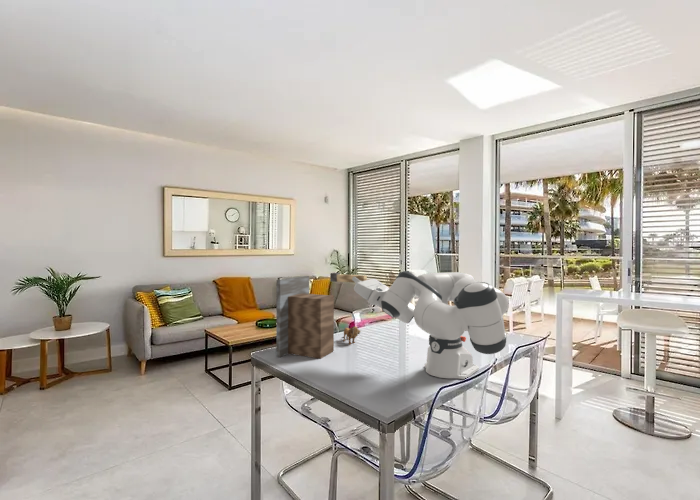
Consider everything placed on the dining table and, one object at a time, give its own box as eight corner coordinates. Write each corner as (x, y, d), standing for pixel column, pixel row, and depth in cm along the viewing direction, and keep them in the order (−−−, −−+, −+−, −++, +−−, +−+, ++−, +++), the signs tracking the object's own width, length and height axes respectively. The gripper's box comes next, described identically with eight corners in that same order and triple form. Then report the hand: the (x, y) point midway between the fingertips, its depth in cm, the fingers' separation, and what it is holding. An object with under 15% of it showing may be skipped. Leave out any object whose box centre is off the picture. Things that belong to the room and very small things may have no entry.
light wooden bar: (367, 282, 160) (367, 273, 160) (363, 283, 157) (363, 274, 157) (334, 280, 167) (334, 272, 167) (330, 281, 164) (330, 273, 164)
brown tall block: (339, 348, 178) (339, 277, 177) (313, 362, 156) (313, 281, 156) (305, 343, 186) (305, 275, 186) (276, 356, 164) (276, 279, 164)
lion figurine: (361, 344, 185) (361, 326, 185) (352, 346, 182) (352, 327, 182) (345, 338, 197) (345, 321, 197) (337, 339, 194) (337, 322, 194)
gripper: (393, 286, 164) (368, 269, 169) (376, 291, 146) (348, 272, 151) (386, 298, 166) (361, 281, 171) (368, 304, 147) (341, 286, 152)
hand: (355, 277), depth 161 cm, fingers closed on light wooden bar, 3 cm apart
